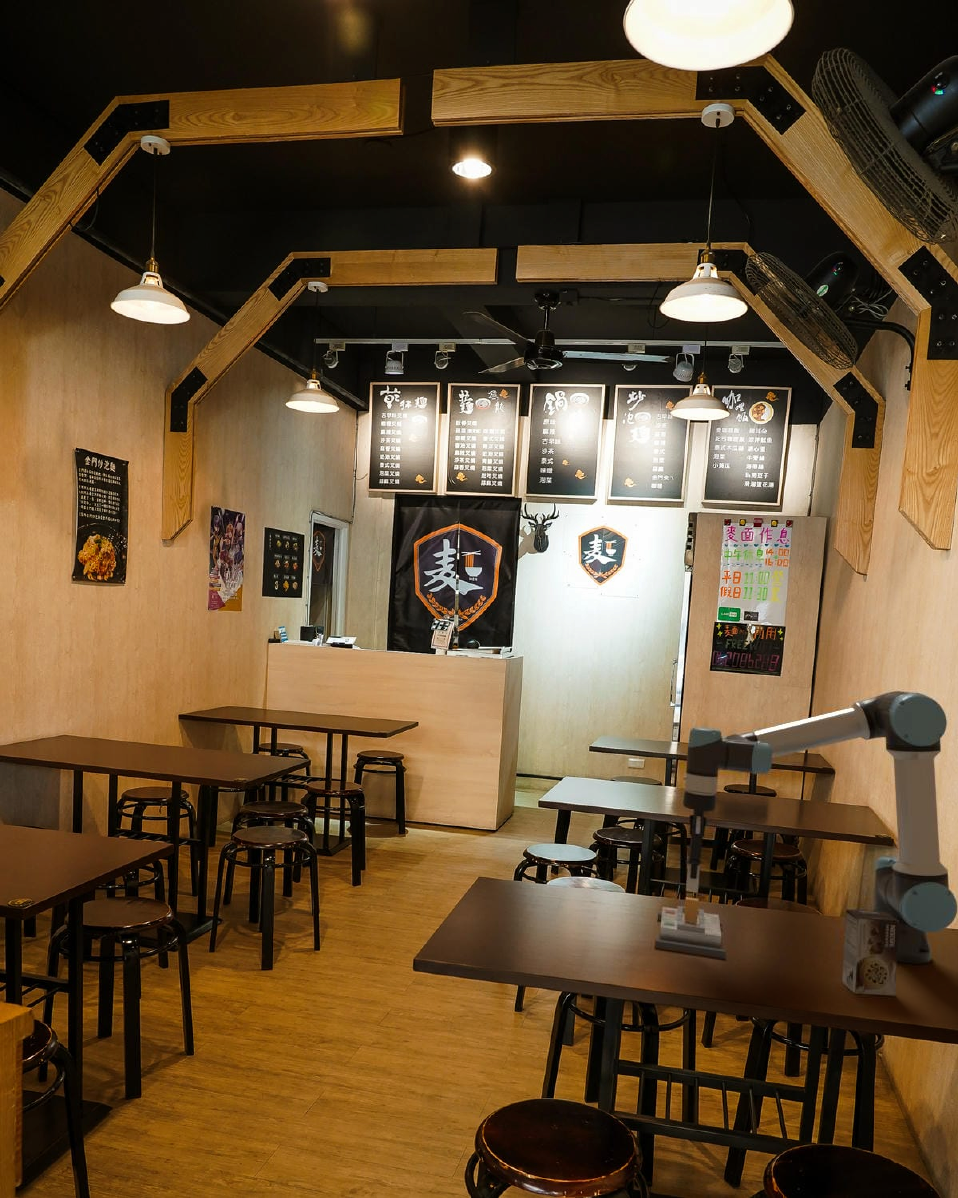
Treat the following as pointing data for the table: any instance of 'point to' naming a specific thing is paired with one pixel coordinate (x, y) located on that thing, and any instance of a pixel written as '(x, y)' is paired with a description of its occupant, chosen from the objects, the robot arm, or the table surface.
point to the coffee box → (870, 952)
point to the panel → (690, 928)
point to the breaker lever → (691, 909)
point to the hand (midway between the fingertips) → (691, 891)
